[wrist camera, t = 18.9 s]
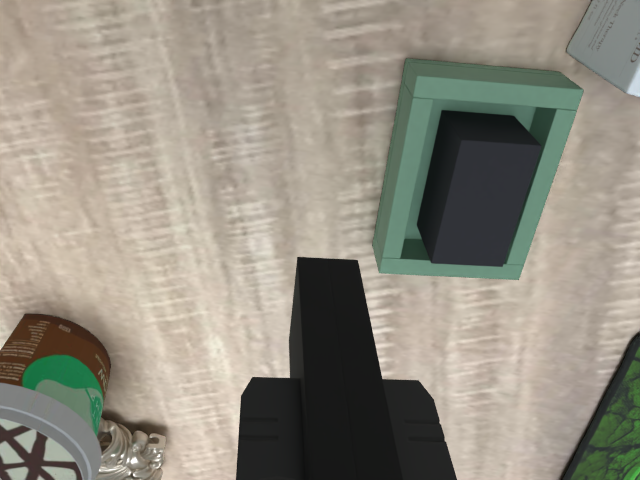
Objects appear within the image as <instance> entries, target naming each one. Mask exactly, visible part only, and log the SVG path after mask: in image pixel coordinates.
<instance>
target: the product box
mask: <svg viewBox="0 0 640 480" xmlns="http://www.w3.org/2000/svg"><path fill="white" fill-rule="evenodd" d="M567 53H568V54H569V55H570V56H572V57H573V58H575V59H576V60H578V61H579V62H581V63H582V64H583V65H585V66H586V67H588V68H589V69H590V70H592V71H593V72H595V73H596V74H598V75H599V76H601V77H602V78H604V79H605V80H607V81H608V82H610V83H611V84H613V85H614V86H616V87H617V88H619V89H620V90H622V91H623V92H625V93H627V94H630V95H633V96H637V97H640V0H592V2H591V4H590V6H589V8H588V10H587V12H586V14H585V16H584V18H583V20H582V22H581V23H580V25H579V27H578V29H577V31H576V33H575V34H574V36H573V38H572V40H571V41H570V43H569V45H568V48H567Z"/></svg>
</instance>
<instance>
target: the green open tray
mask: <svg viewBox="0 0 640 480" xmlns="http://www.w3.org/2000/svg"><path fill="white" fill-rule="evenodd" d="M583 91H584V90H583V89H582V88H581V87H579V86H578V85H577V84H575V83H574V82H573V81H571V80H570V79H569V78H567V77H566V76H565V75H563V74H562V73H561V72H556V71H545V70H533V69H522V68H511V67H499V66H488V65H476V64H465V63H454V62H442V61H431V60H420V59H408V58H407V59H406V60H405V65H404V71H403V76H402V82H401V88H400V93H399V99H398V104H397V110H396V116H395V121H394V127H393V132H392V138H391V144H390V149H389V155H388V160H387V166H386V172H385V177H384V183H383V188H382V194H381V200H380V205H379V211H378V216H377V222H376V228H375V233H374V239H373V245H372V246H373V250H374V254H375V258H376V262H377V266H378V270H379V273H385V274H406V275H427V276H448V277H468V278H489V279H510V280H519V278H520V275H521V272H522V269H523V266H524V263H525V260H526V257H527V254H528V251H529V248H530V246H531V243H532V240H533V237H534V234H535V231H536V228H537V225H538V222H539V219H540V217H541V214H542V211H543V208H544V205H545V202H546V199H547V196H548V193H549V190H550V188H551V185H552V182H553V179H554V176H555V173H556V170H557V167H558V164H559V161H560V158H561V156H562V153H563V150H564V147H565V144H566V141H567V138H568V135H569V132H570V129H571V127H572V124H573V121H574V118H575V115H576V112H577V111H576V110H577V109H578V106H579V103H580V100H581V97H582V94H583ZM442 110H449V111H462V112H474V113H487V114H500V115H512V116H515V117H516V118H517V119H518V121H519V122H520V123H521V124H522V125H523V126H524V127H525V128H526V129H527V130H528V131H529V133H530V134H531V135H532V136H533V137H534V138H535V139H536V140H537V141H538V142H539V143H540V145H541V150H540V153H539V156H538V159H537V162H536V165H535V168H534V171H533V175H532V178H531V181H530V184H529V187H528V190H527V193H526V196H525V199H524V202H523V206H522V209H521V212H520V215H519V218H518V221H517V224H516V227H515V230H514V234H513V237H512V240H511V243H510V246H509V249H508V252H507V255H506V258H505V261H504V265H503V267H492V266H472V265H452V264H432V263H431V261H430V259H429V256H428V254H427V251H426V248H425V246H424V243H423V241H422V238H421V235H420V233H419V230H418V228H417V220H418V216H419V211H420V207H421V202H422V198H423V193H424V188H425V184H426V179H427V175H428V170H429V166H430V161H431V157H432V152H433V148H434V143H435V138H436V134H437V129H438V125H439V120H440V116H441V111H442Z"/></svg>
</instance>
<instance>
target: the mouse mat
mask: <svg viewBox="0 0 640 480" xmlns="http://www.w3.org/2000/svg"><path fill="white" fill-rule="evenodd" d="M563 480H640V334H639V335H638V336H637V337H636V338H635V339H634V340H633V341H632V343H631V345H630V347H629V349H628V351H627V354H626V356H625V358H624V361H623V363H622V365H621V367H620V369H619V371H618V373H617V374H616V376H615V378H614V379H613V382H612V383H611V385H610V387H609V389H608V391H607V393H606V395H605V397H604V399H603V401H602V403H601V405H600V407H599V409H598V411H597V413H596V415H595V417H594V419H593V421H592V423H591V425H590V427H589V429H588V431H587V433H586V435H585V437H584V438H583V440H582V442H581V444H580V446H579V448H578V450H577V453H576V454H575V457H574V459H573V461H572V463H571V464H570V466H569V468H568V470H567V472H566V474H565V476H564V478H563Z"/></svg>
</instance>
